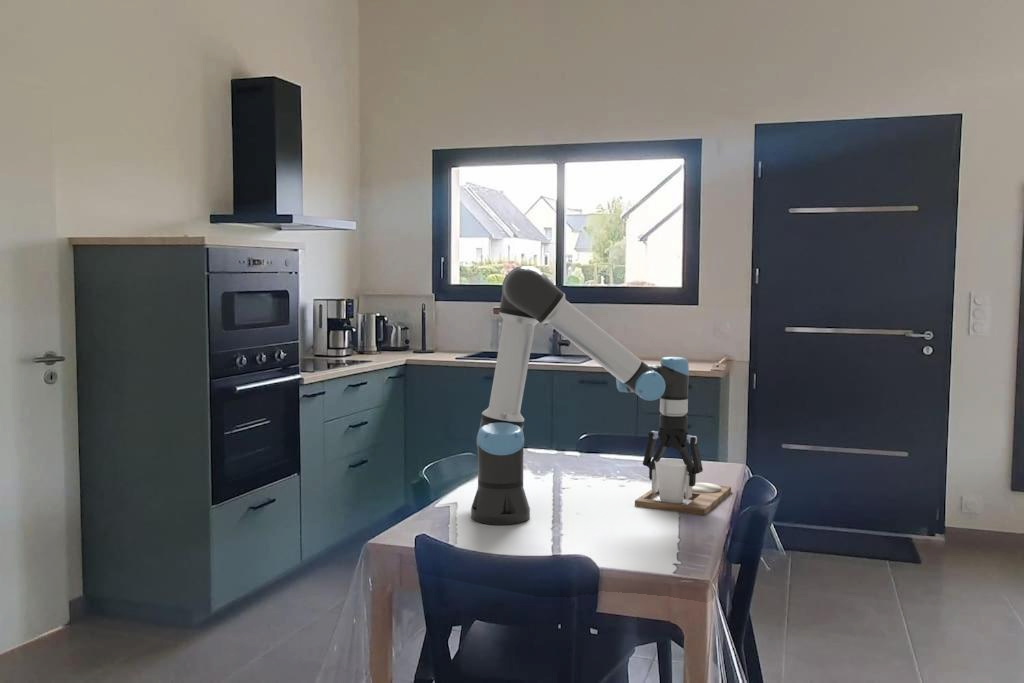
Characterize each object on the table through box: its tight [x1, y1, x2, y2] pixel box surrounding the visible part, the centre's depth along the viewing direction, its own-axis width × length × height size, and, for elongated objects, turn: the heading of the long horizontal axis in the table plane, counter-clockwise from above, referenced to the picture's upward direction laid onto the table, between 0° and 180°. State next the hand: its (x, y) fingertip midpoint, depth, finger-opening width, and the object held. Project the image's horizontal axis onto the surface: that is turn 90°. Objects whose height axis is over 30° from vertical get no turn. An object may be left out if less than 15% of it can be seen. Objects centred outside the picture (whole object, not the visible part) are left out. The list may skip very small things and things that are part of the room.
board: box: [634, 482, 732, 516], centre depth 244 cm, size 28×19×2 cm
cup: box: [654, 457, 689, 504], centre depth 240 cm, size 10×10×11 cm
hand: (671, 494), depth 240 cm, fingers closed on cup, 9 cm apart
